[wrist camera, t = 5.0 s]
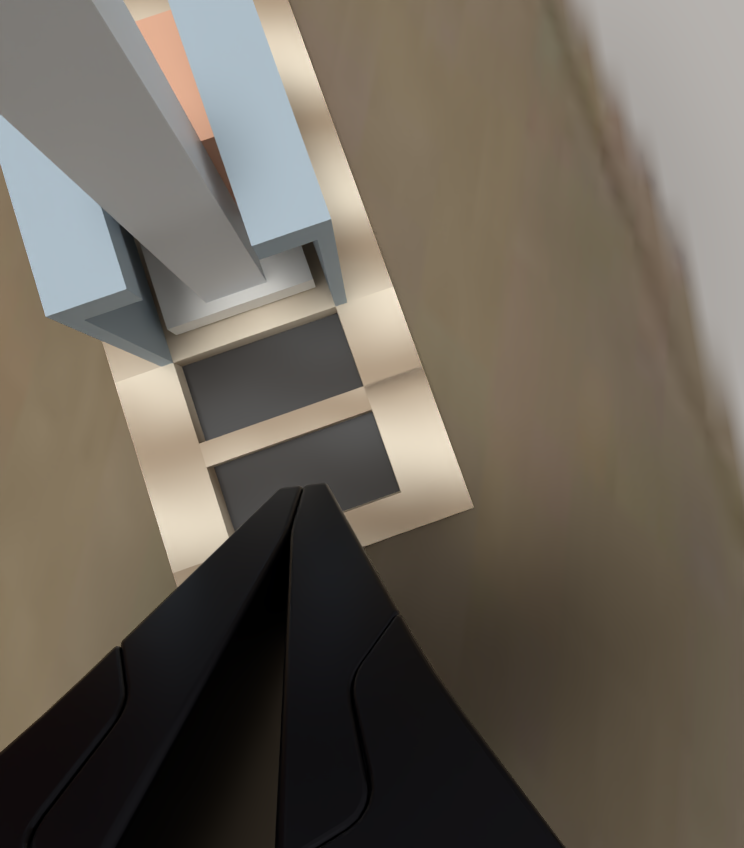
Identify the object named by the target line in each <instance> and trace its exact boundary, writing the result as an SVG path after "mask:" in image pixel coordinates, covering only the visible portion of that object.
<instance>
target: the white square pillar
mask: <svg viewBox="0 0 744 848" xmlns="http://www.w3.org/2000/svg"><path fill="white" fill-rule="evenodd" d="M0 115H2V116H3V117H4V118H5V119H6V120H7V121H8V122H9V123H10V124H11V125H12V126H14V127H15V128H16V129H17V130H18V131H19V132H20V133H21V134H22V135H23V136H24V137H26V138H27V139H28V140H29V141H30V142H31V143H32V144H33V145H34V146H35V147H36V148H38V149H39V150H40V151H41V152H42V153H43V154H44V155H45V156H46V157H47V158H48V159H50V160H51V161H52V162H53V163H54V164H55V165H56V166H57V167H58V168H59V169H60V170H62V171H63V172H64V173H65V174H66V175H67V176H68V177H69V178H70V179H71V180H72V181H74V182H75V183H76V184H77V185H78V186H79V187H80V188H81V189H82V190H83V191H84V192H86V193H87V194H88V195H89V196H90V197H91V198H92V199H93V200H94V201H95V202H96V203H98V204H99V205H100V206H101V207H102V208H103V209H104V210H105V211H106V212H107V213H108V214H110V215H111V216H112V217H113V218H114V219H115V220H116V221H117V222H118V223H119V224H120V225H122V226H123V227H124V228H125V229H126V230H127V231H128V232H129V233H130V234H131V235H132V236H134V237H135V238H136V239H137V240H138V241H139V243H140V246H141V249H142V252H143V255H144V258H145V261H146V265H147V268H148V271H149V274H150V277H151V280H152V283H153V286H154V290H155V293H156V296H157V299H158V302H159V305H160V308H161V312H162V315H163V318H164V321H165V324H166V327H167V330H169V331H170V332H172V333H174V334H175V335H179V334H182V333H184V332H187V331H190V330H193V329H196V328H199V327H202V326H205V325H208V324H211V323H213V322H216V321H219V320H222V319H225V318H228V317H231V316H234V315H237V314H240V313H242V312H245V311H248V310H251V309H254V308H257V307H260V306H263V305H266V304H269V303H271V302H274V301H277V300H280V299H283V298H286V297H289V296H292V295H295V294H298V293H300V292H303V291H306V290H309V289H312V288H315V287H316V286H315V283H314V280H313V278H312V275H311V272H310V269H309V266H308V263H307V260H306V258H305V255H304V252H303V249H302V246H298V247H295V248H292V249H289V250H287V251H284V252H281V253H278V254H275V255H272V256H269V257H266V258H263V259H260V260H259V258H258V256H257V255H256V253H255V251H254V249H253V248H252V246H251V243H250V240H249V237H248V234H247V231H246V228H245V225H244V222H243V220H242V217H241V214H240V211H239V208H238V205H237V202H236V199H235V196H234V193H233V190H232V187H231V184H230V181H229V178H228V176H227V173H226V170H225V167H224V164H223V161H222V158H221V155H220V152H219V149H218V146H217V143H216V140H215V137H214V135H213V132H212V129H211V126H210V123H209V120H208V117H207V114H206V111H205V108H204V105H203V102H202V99H201V96H200V93H199V91H198V88H197V85H196V82H195V79H194V76H193V73H192V70H191V67H190V64H189V61H188V58H187V55H186V52H185V49H184V47H183V44H182V41H181V38H180V35H179V32H178V29H177V26H176V23H175V20H174V17H173V14H172V11H171V10H168V11H165V12H162V13H159V14H156V15H153V16H150V17H147V18H144V19H141V20H138V21H134V19H133V17H132V15H131V14H130V12H129V10H128V8H127V6H126V4H125V3H124V1H123V0H0Z"/></svg>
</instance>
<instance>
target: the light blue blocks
mask: <svg viewBox="0 0 744 848" xmlns="http://www.w3.org/2000/svg"><path fill="white" fill-rule="evenodd" d="M168 3H169V5H170V8H171V11H172V14H173V17H174V20H175V23H176V26H177V29H178V32H179V35H180V38H181V41H182V44H183V47H184V49H185V52H186V55H187V58H188V61H189V64H190V67H191V70H192V73H193V76H194V79H195V82H196V85H197V88H198V91H199V93H200V96H201V99H202V102H203V105H204V108H205V111H206V114H207V117H208V120H209V123H210V126H211V129H212V132H213V135H214V137H215V140H216V143H217V146H218V149H219V152H220V155H221V158H222V161H223V164H224V167H225V170H226V173H227V176H228V178H229V181H230V184H231V187H232V190H233V193H234V196H235V199H236V202H237V205H238V208H239V211H240V214H241V217H242V220H243V222H244V225H245V228H246V231H247V234H248V237H249V240H250V243H251V246H252V248H253V249H254V251H255V253H256V255H257V256H258V258H259V260H260V259H263V258H266V257H269V256H272V255H275V254H278V253H281V252H284V251H287V250H289V249H292V248H295V247H298V246H301V245H304V244H307V243H310V242H313V244H314V247H315V250H316V252H317V255H318V258H319V261H320V264H321V267H322V269H323V272H324V275H325V278H326V281H327V284H328V286H329V289H330V292H331V295H332V298H333V301H334V303H335V306H338V305H341V304H344V303H347V299H346V294H345V289H344V283H343V278H342V273H341V268H340V262H339V257H338V252H337V247H336V241H335V236H334V231H333V225H332V220H331V217H330V214H329V211H328V208H327V206H326V203H325V200H324V197H323V195H322V192H321V189H320V186H319V183H318V181H317V178H316V175H315V172H314V169H313V167H312V164H311V161H310V158H309V156H308V153H307V150H306V147H305V144H304V142H303V139H302V136H301V133H300V130H299V128H298V125H297V122H296V119H295V117H294V114H293V111H292V108H291V105H290V103H289V100H288V97H287V94H286V91H285V89H284V86H283V83H282V80H281V77H280V75H279V72H278V69H277V66H276V64H275V61H274V58H273V55H272V52H271V50H270V47H269V44H268V41H267V38H266V36H265V33H264V30H263V27H262V25H261V22H260V19H259V16H258V13H257V11H256V8H255V5H254V2H253V0H168ZM0 164H1V167H2V171H3V174H4V177H5V181H6V184H7V187H8V191H9V194H10V198H11V201H12V204H13V208H14V211H15V214H16V218H17V221H18V225H19V228H20V231H21V235H22V238H23V241H24V245H25V248H26V252H27V255H28V258H29V262H30V265H31V268H32V272H33V275H34V279H35V282H36V285H37V289H38V292H39V296H40V299H41V302H42V306H43V309H44V312H45V316H46V317H48V318H50V319H52V320H55V321H57V322H59V323H61V324H64V325H66V326H68V327H71V328H73V329H75V330H78V331H80V332H82V333H85V334H87V335H89V336H92V337H94V338H96V339H99V340H101V341H103V342H106V343H108V344H110V345H112V346H115V347H117V348H119V349H122V350H124V351H126V352H129V353H131V354H133V355H136V356H138V357H140V358H143V359H145V360H147V361H150V362H152V363H154V364H157V365H159V366H161V367H162V366H165V365H168V364H171V363H173V360H172V357H171V354H170V351H169V348H168V345H167V341H166V338H165V335H164V332H163V329H162V326H161V323H160V319H159V316H158V313H157V310H156V307H155V304H154V301H153V297H152V294H151V291H150V288H149V285H148V282H147V279H146V275H145V272H144V269H143V266H142V263H141V260H140V257H139V253H138V250H137V247H136V244H135V241H134V238H133V236H132V235H131V234H130V233H129V232H128V231H127V230H126V229H125V228H124V227H123V226H122V225H120V224H119V223H118V222H117V221H116V220H115V219H114V218H113V217H112V216H111V215H110V214H108V213H107V212H106V211H105V210H104V209H103V208H102V207H101V206H100V205H99V204H98V203H96V202H95V201H94V200H93V199H92V198H91V197H90V196H89V195H88V194H87V193H86V192H84V191H83V190H82V189H81V188H80V187H79V186H78V185H77V184H76V183H75V182H74V181H72V180H71V179H70V178H69V177H68V176H67V175H66V174H65V173H64V172H63V171H62V170H60V169H59V168H58V167H57V166H56V165H55V164H54V163H53V162H52V161H51V160H50V159H48V158H47V157H46V156H45V155H44V154H43V153H42V152H41V151H40V150H39V149H38V148H36V147H35V146H34V145H33V144H32V143H31V142H30V141H29V140H28V139H27V138H26V137H24V136H23V135H22V134H21V133H20V132H19V131H18V130H17V129H16V128H15V127H14V126H12V125H11V124H10V123H9V122H8V121H7V120H6V119H5V118H4V117H3V116H2V115H0Z"/></svg>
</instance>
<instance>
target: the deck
mask: <svg viewBox="0 0 744 848" xmlns="http://www.w3.org/2000/svg"><path fill="white" fill-rule="evenodd" d="M123 1H124V3H125V4H126V6H127V8H128V10H129V12H130V14H131V15H132V17H133V19H134V21H138V20H141V19H144V18H147V17H150V16H153V15H156V14H159V13H162V12H165V11H168V10H171V8H170V5H169V3H168V0H123ZM253 2H254V5H255V8H256V11H257V13H258V16H259V19H260V22H261V25H262V27H263V30H264V33H265V36H266V38H267V41H268V44H269V47H270V50H271V52H272V55H273V58H274V61H275V64H276V66H277V69H278V72H279V75H280V77H281V80H282V83H283V86H284V89H285V91H286V94H287V97H288V100H289V103H290V105H291V108H292V111H293V114H294V117H295V119H296V122H297V125H298V128H299V130H300V133H301V136H302V139H303V142H304V144H305V147H306V150H307V153H308V156H309V158H310V161H311V164H312V167H313V169H314V172H315V175H316V178H317V181H318V183H319V186H320V189H321V192H322V195H323V197H324V200H325V203H326V206H327V208H328V211H329V214H330V217H331V220H332V225H333V231H334V236H335V241H336V247H337V252H338V257H339V262H340V268H341V273H342V278H343V283H344V289H345V294H346V299H347V303H344V304H341V305H338V306H335V303H334V301H333V298H332V295H331V292H330V289H329V286H328V284H327V281H326V278H325V275H324V272H323V269H322V267H321V264H320V261H319V258H318V255H317V252H316V250H315V247H314V244H313V242H310V243H307V244H304V245H301V246H302V249H303V252H304V255H305V258H306V260H307V263H308V266H309V269H310V272H311V275H312V278H313V280H314V283H315V286H316V287H315V288H312V289H309V290H306V291H303V292H300V293H298V294H295V295H292V296H289V297H286V298H283V299H280V300H277V301H274V302H271V303H269V304H266V305H263V306H260V307H257V308H254V309H251V310H248V311H245V312H242V313H240V314H237V315H234V316H231V317H228V318H225V319H222V320H219V321H216V322H213V323H211V324H208V325H205V326H202V327H199V328H196V329H193V330H190V331H187V332H184V333H182V334H179V335H175V334H174V333H172V332H170V331H169V330H167V327H166V324H165V321H164V318H163V315H162V312H161V308H160V305H159V302H158V299H157V296H156V293H155V290H154V286H153V283H152V280H151V277H150V274H149V271H148V268H147V265H146V261H145V258H144V255H143V252H142V249H141V246H140V243H139V241H138V240H137V239H136V238H135V237H134V236H133V238H134V241H135V244H136V247H137V250H138V253H139V257H140V260H141V263H142V266H143V269H144V272H145V275H146V279H147V282H148V285H149V288H150V291H151V294H152V297H153V301H154V304H155V307H156V310H157V313H158V316H159V319H160V323H161V326H162V329H163V332H164V335H165V338H166V341H167V345H168V348H169V351H170V354H171V357H172V360H173V363H171V364H168V365H165V366H162V367H161V366H159V365H157V364H154V363H152V362H150V361H147V360H145V359H143V358H140V357H138V356H136V355H133V354H131V353H129V352H126V351H124V350H122V349H119V348H117V347H115V346H112V345H110V344H108V343H106V342H103V341H102V343H103V346H104V349H105V353H106V356H107V359H108V362H109V366H110V369H111V372H112V375H113V379H114V382H115V385H116V389H117V392H118V395H119V398H120V402H121V405H122V408H123V411H124V415H125V418H126V421H127V425H128V428H129V431H130V434H131V438H132V441H133V444H134V447H135V451H136V454H137V457H138V461H139V464H140V467H141V470H142V474H143V477H144V480H145V483H146V487H147V490H148V493H149V497H150V500H151V503H152V506H153V510H154V513H155V516H156V519H157V523H158V526H159V529H160V533H161V536H162V539H163V542H164V546H165V549H166V552H167V555H168V559H169V562H170V565H171V569H172V572H173V575H174V578H175V582H176V585H177V587H178V586H179V585H180V584H182V583H183V582H184V581H185V580H186V579H187V578H188V577H189V576H190V575H191V574H192V573H193V572H194V571H195V570H196V569H197V568H198V567H199V566H200V565H201V564H202V563H203V562H204V561H205V560H206V559H207V558H208V557H209V556H210V555H211V554H212V553H213V552H215V551H216V550H217V549H218V548H219V547H220V546H221V545H222V544H223V543H224V542H225V541H226V540H227V539H228V538H229V537H230V536H231V535H232V534H233V533H234V532H235V531H236V530H237V529H238V528H239V527H240V526H241V525H242V524H243V523H244V522H245V521H246V520H248V519H249V518H250V517H251V516H252V515H253V514H254V513H255V512H256V511H257V510H258V509H259V508H260V507H261V506H262V505H263V504H264V503H265V502H266V501H267V500H268V499H269V498H270V497H271V496H272V495H273V494H274V493H275V492H276V491H277V490H279V489H280V488H284V487H293V486H301V487H303V488H304V487H305V486H306V485H311V484H320V483H326V484H327V485H328V486H329V488H330V489H331V491H332V493H333V495H334V497H335V498H336V500H337V502H338V504H339V505H340V507H341V509H342V511H343V513H344V514H345V516H346V518H347V520H348V522H349V523H350V525H351V527H352V529H353V531H354V532H355V534H356V536H357V538H358V539H359V541H360V543H361V545H362V547H364V546H367V545H370V544H373V543H375V542H378V541H381V540H384V539H387V538H390V537H392V536H395V535H398V534H401V533H404V532H406V531H409V530H412V529H415V528H418V527H420V526H423V525H426V524H429V523H432V522H434V521H437V520H440V519H443V518H446V517H449V516H451V515H454V514H457V513H460V512H463V511H465V510H468V509H471V508H474V506H473V503H472V501H471V498H470V495H469V492H468V490H467V487H466V484H465V482H464V479H463V476H462V473H461V471H460V468H459V465H458V462H457V460H456V457H455V454H454V452H453V449H452V446H451V443H450V441H449V438H448V435H447V432H446V430H445V427H444V424H443V422H442V419H441V416H440V413H439V411H438V408H437V405H436V402H435V400H434V397H433V394H432V391H431V389H430V386H429V383H428V381H427V378H426V375H425V372H424V370H423V367H422V364H421V361H420V359H419V356H418V353H417V351H416V348H415V345H414V342H413V340H412V337H411V334H410V331H409V329H408V326H407V323H406V320H405V318H404V315H403V312H402V310H401V307H400V304H399V301H398V299H397V296H396V293H395V290H394V288H393V285H392V282H391V280H390V277H389V274H388V271H387V269H386V266H385V263H384V260H383V258H382V255H381V252H380V249H379V247H378V244H377V241H376V239H375V236H374V233H373V230H372V228H371V225H370V222H369V219H368V217H367V214H366V211H365V209H364V206H363V203H362V200H361V198H360V195H359V192H358V189H357V187H356V184H355V181H354V178H353V176H352V173H351V170H350V168H349V165H348V162H347V159H346V157H345V154H344V151H343V148H342V146H341V143H340V140H339V138H338V135H337V132H336V129H335V127H334V124H333V121H332V118H331V116H330V113H329V110H328V108H327V105H326V102H325V99H324V97H323V94H322V91H321V88H320V86H319V83H318V80H317V77H316V75H315V72H314V69H313V67H312V64H311V61H310V58H309V56H308V53H307V50H306V47H305V45H304V42H303V39H302V37H301V34H300V31H299V28H298V26H297V23H296V20H295V17H294V15H293V12H292V9H291V6H290V4H289V1H288V0H253Z"/></svg>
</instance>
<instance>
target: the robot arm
mask: <svg viewBox="0 0 744 848" xmlns="http://www.w3.org/2000/svg"><path fill="white" fill-rule="evenodd" d="M0 848H565V846H564V845H563V844H562V843H561V841H560V840H559V839H558V837H557V836H556V835H555V833H554V832H553V831H552V829H551V828H550V827H549V825H548V824H547V823H546V821H545V820H544V819H543V817H542V816H541V815H540V813H539V812H538V811H537V809H536V808H535V807H534V805H533V804H532V803H531V801H530V800H529V799H528V797H527V796H526V795H525V793H524V792H523V791H522V789H521V788H520V787H519V786H518V784H517V783H516V782H515V780H514V779H513V778H512V776H511V775H510V774H509V772H508V771H507V770H506V768H505V767H504V766H503V764H502V763H501V762H500V760H499V759H498V758H497V756H496V755H495V754H494V752H493V751H492V750H491V748H490V747H489V746H488V744H487V743H486V742H485V740H484V739H483V738H482V736H481V735H480V734H479V732H478V731H477V730H476V728H475V727H474V726H473V725H472V723H471V722H470V721H469V719H468V718H467V717H466V715H465V714H464V712H463V711H462V710H461V708H460V707H459V705H458V704H457V702H456V701H455V700H454V698H453V697H452V695H451V694H450V692H449V691H448V690H447V688H446V687H445V685H444V684H443V683H442V681H441V680H440V678H439V677H438V675H437V674H436V673H435V671H434V669H433V668H432V666H431V664H430V663H429V661H428V659H427V658H426V656H425V655H424V653H423V651H422V650H421V648H420V646H419V645H418V643H417V641H416V640H415V638H414V636H413V635H412V633H411V631H410V629H409V628H408V626H407V624H406V622H405V620H404V619H403V617H402V616H401V615H400V614H399V611H398V609H397V607H396V606H395V604H394V602H393V600H392V599H391V597H390V595H389V593H388V591H387V590H386V588H385V586H384V584H383V582H382V581H381V579H380V577H379V575H378V573H377V572H376V570H375V568H374V566H373V565H372V563H371V561H370V559H369V557H368V556H367V554H366V552H365V550H364V548H363V547H362V545H361V543H360V541H359V539H358V538H357V536H356V534H355V532H354V531H353V529H352V527H351V525H350V523H349V522H348V520H347V518H346V516H345V514H344V513H343V511H342V509H341V507H340V505H339V504H338V502H337V500H336V498H335V497H334V495H333V493H332V491H331V489H330V488H329V486H328V485H327V484H326V483H320V484H311V485H306V486H305V487H304V488H303V487H301V486H293V487H284V488H280V489H279V490H277V491H276V492H275V493H274V494H273V495H272V496H271V497H270V498H269V499H268V500H267V501H266V502H265V503H264V504H263V505H262V506H261V507H260V508H259V509H258V510H257V511H256V512H255V513H254V514H253V515H252V516H251V517H250V518H249V519H248V520H246V521H245V522H244V523H243V524H242V525H241V526H240V527H239V528H238V529H237V530H236V531H235V532H234V533H233V534H232V535H231V536H230V537H229V538H228V539H227V540H226V541H225V542H224V543H223V544H222V545H221V546H220V547H219V548H218V549H217V550H216V551H215V552H213V553H212V554H211V555H210V556H209V557H208V558H207V559H206V560H205V561H204V562H203V563H202V564H201V565H200V566H199V567H198V568H197V569H196V570H195V571H194V572H193V573H192V574H191V575H190V576H189V577H188V578H187V579H186V580H185V581H184V582H183V583H182V584H180V585H179V586H178V587H177V588H176V589H175V590H174V591H173V592H172V593H171V594H170V595H169V596H168V597H167V598H166V599H165V600H164V601H163V602H162V603H161V604H160V605H159V606H158V607H157V608H156V609H155V610H154V611H153V612H152V613H151V614H150V615H149V616H148V617H146V618H145V619H144V620H143V621H142V622H141V623H140V624H139V625H138V626H137V627H136V628H135V629H134V630H133V631H132V632H131V633H130V634H129V635H128V636H127V637H126V638H125V639H124V640H123V641H122V642H121V647H119V646H116V647H114V648H113V649H112V650H111V651H110V652H109V653H108V654H107V655H106V656H105V657H104V658H103V659H102V660H101V661H100V662H99V663H98V664H97V665H96V666H95V667H93V668H92V669H91V670H90V671H89V672H88V673H87V674H86V675H85V676H84V677H83V678H82V679H81V680H80V681H79V682H78V683H77V684H75V685H74V686H73V687H72V688H71V689H70V690H69V691H68V692H67V693H66V694H65V695H64V696H63V697H62V698H60V699H59V700H58V701H57V702H56V703H55V704H54V705H53V706H52V707H51V708H50V709H49V710H48V711H47V712H45V713H44V714H43V715H42V716H41V717H40V718H39V719H38V720H37V721H35V722H34V723H33V724H32V725H31V726H30V727H29V728H27V729H26V730H25V731H24V732H23V733H22V734H21V735H20V736H18V737H17V738H16V739H15V740H14V741H13V742H12V743H10V744H9V745H8V746H7V747H6V748H5V749H4V750H3V751H1V752H0Z"/></svg>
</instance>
